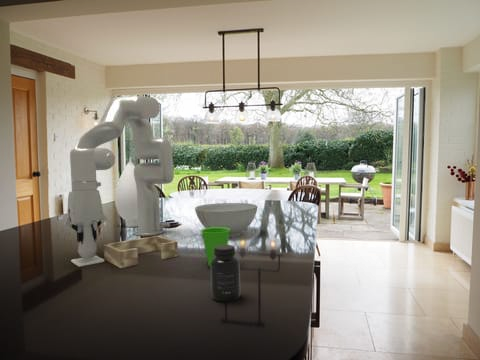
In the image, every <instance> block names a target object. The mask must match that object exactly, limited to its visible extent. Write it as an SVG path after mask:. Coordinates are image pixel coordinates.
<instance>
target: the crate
mask: <svg viewBox="0 0 480 360" xmlns="http://www.w3.org/2000/svg"><path fill="white" fill-rule="evenodd" d="M178 247H179V245H178V241H177V240H173V239H170V238H167V237H164V236H161V235H152V236H145V237H142V238H135V239H130V240H129V239H128V240H122V241H118V242H117V241H116V242H110V243H105V244H103V259H104V261H106V262H109V263H110V264H112V265H114V266H115V267H118V268H120V269H123V268H127V267H128V268H129V267H133V266H138V265H139V261H138V260H139V259H138V254H144V253H149V252H155V251H158V252H160V254H161V255H160V257H161V259H162V260H166V259H171V258H175V257H179V248H178Z"/></svg>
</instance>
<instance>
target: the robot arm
mask: <svg viewBox="0 0 480 360" xmlns="http://www.w3.org/2000/svg"><path fill="white" fill-rule="evenodd" d="M160 108H161V107H160V102H159V101H158V100H157V98H155V97H153V96H145V95H125V96H123V95H122V96H115V97H112V98H111V100H110V101H109V102H108V103H107V106H106V109H105V111H104V113H103V115H102V116H101V119H100V121H99V122H98V124H97V125H95V126H93V127H92V128H90V129H89V130H88V131H86V132H85V133H84V134H82V135H81V136H80V138H79V139H78V140H77V142H76V144H75V146H74V147H73V149H71V150H70V153H69V159H70V160H69V163H70V182H71V183H70V184H71V191H69V192H68V197H67V216H66V219H65V221H64V226H66V227H68V228H71V229H73V230H74V231H75V232H76V241H77V243H79V242H80V241H81V244H83V237H84V234H83V232H82V222H85V221H87V220H90V221H93V224H91V225H92V230H93V231H92V232H93V237H94V241H95V242H97V241H96V240H97V239H98V237H97V236H98V235H97V230H99V227H100V226H102V224H103V223H105V222H106V221H108V220H107V217H106V216H105V214H104V212H103V211H104V210H103V203H102V196H101V193H100V190H99V189H98V188H99V187H101V186H102V183H101V182H99V181H98V180H97V171H107V170H110V169H111V168H112V167H114V165H115V163H116V156H115V154H114V153H113V151H112V150H111V149H109V148H105V147H99V146H101V145H103V144H106V143H110V142H111V141H114V140H116V139H118V138H120V137H121V136H122V134H123V132H124V129H125V127H126V124H129V126H130V129H131V132H132V133H131V134H132V141H133V149H134V154H135V157H136V158H137V159H139V160H144V161H145V160H147V161H146V162H140V163H138V164H137V165H134V166H135V168H134V178H135V182H136V189H137V209H138V226H137V230H134V235H135V236H139V237H141V236H142V237H152V236H159V235H162V234H163V233H165V231H164V228H168V227H169V228H170V226H171V223H170V222H162V221H161V215H160V213H161V212H160V211H161V210H160V193H159V191H158V189H157V187H156V186H155V185H165V184H166V185H167V184H171V183H172V182H173V180H174V177H175V170H174V160H173V149H172V144H171V141H170V140H169V139H168V138H166V137H163V136H160V137H154V133H153V128H152V127H153V126H152V124H151V122H150V121H149V119H155V118H157V117H158V116H159V114H160V111H161V109H160ZM151 160H152V161H153V160H159V162H158V161H157V162H155V161H154V162H151ZM149 161H150V162H149Z"/></svg>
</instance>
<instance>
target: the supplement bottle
mask: <svg viewBox="0 0 480 360" xmlns="http://www.w3.org/2000/svg"><path fill="white" fill-rule="evenodd" d="M214 256H215V258H213V259H212V261H211V265H210V266H211V267H210V285H211V286H210V287H211V289H210V292H211V298H212V299H213V300H214V301H216V302H220V303H229V302H234V301H236V300H238V299H239V298H240V297H241V274H240V273H241V269H240V266H241V265H240V260H239V258H238V257H236V250H235V246H234V245H232V244H228V245H219V246H216V247H214Z"/></svg>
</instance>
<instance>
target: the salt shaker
mask: <svg viewBox="0 0 480 360" xmlns="http://www.w3.org/2000/svg"><path fill="white" fill-rule="evenodd" d="M91 224H93V221H90V220H87V221H85V222H82V232H83V234H84V237H83V244H81V241H80V242H78V248H77V253H78V254H79V256H80V258H92V257H94V256H95V255H96V254H97V252H98V251H97V250H98V247H97V243H96V242H97V241H96V242H95V241H94V237H93V232H92V231H93V230H92V225H91Z"/></svg>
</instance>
